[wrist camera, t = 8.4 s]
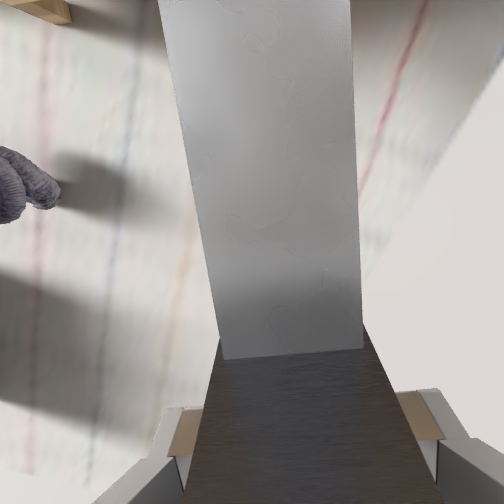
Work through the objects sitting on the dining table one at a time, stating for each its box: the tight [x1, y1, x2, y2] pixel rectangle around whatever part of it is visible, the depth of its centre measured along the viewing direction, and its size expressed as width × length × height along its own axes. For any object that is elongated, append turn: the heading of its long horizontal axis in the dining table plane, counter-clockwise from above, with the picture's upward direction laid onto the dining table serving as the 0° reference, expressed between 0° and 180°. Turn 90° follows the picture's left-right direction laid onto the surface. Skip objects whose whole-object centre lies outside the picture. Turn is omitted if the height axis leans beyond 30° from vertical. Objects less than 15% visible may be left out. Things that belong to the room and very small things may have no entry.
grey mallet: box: [158, 0, 445, 504], centre depth 7 cm, size 17×4×6 cm, turn 8°
